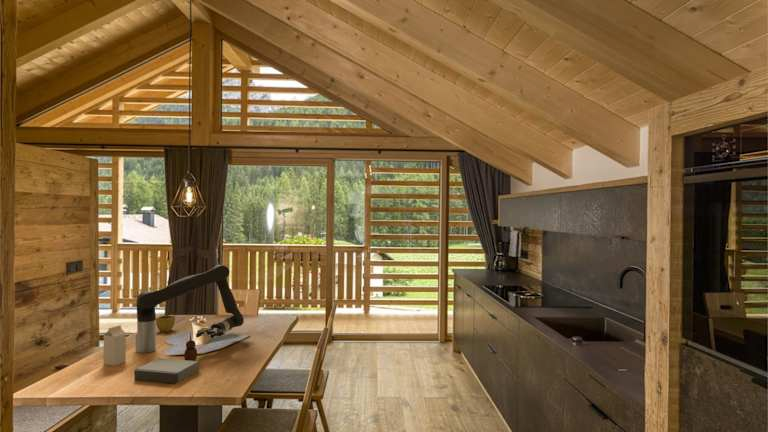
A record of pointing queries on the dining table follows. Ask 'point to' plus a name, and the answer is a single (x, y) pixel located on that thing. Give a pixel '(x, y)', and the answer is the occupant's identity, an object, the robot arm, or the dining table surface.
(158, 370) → the block
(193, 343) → the wooden figurine
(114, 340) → the milk carton
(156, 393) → the dining table surface
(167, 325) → the flower pot
